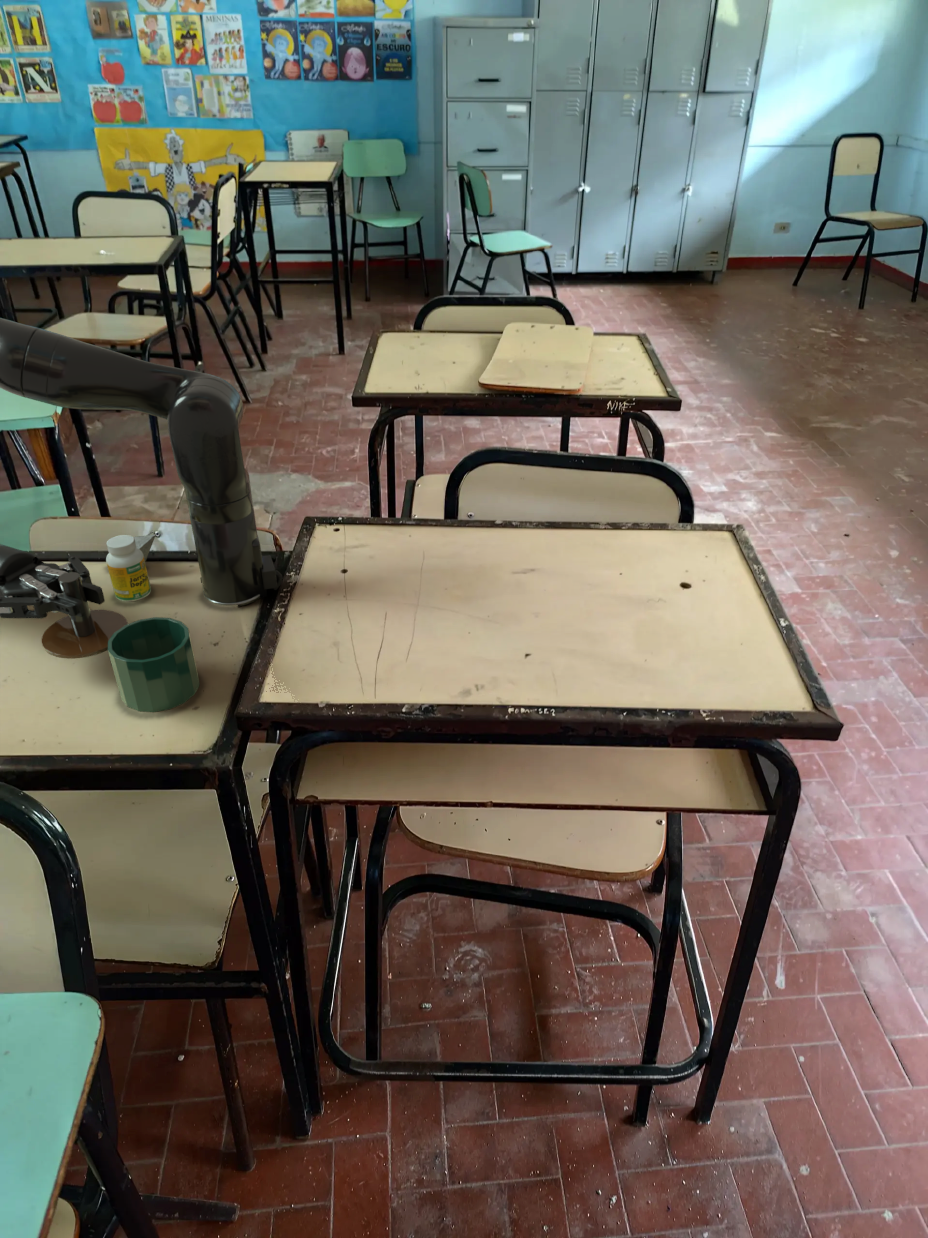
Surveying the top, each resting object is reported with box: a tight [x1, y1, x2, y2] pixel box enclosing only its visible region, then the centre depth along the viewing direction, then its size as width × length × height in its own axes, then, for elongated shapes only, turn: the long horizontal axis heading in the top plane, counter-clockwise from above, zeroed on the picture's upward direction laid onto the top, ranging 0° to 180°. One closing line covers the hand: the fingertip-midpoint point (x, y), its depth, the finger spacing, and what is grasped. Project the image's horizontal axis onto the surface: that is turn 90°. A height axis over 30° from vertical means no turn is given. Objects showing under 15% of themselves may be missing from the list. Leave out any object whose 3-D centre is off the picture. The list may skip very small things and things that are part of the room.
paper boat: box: [133, 530, 157, 563], centre depth 138 cm, size 12×6×9 cm
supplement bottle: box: [105, 534, 152, 602], centre depth 129 cm, size 5×5×10 cm
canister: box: [107, 616, 200, 713], centre depth 110 cm, size 10×10×8 cm
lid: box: [41, 572, 129, 660], centre depth 111 cm, size 11×11×10 cm
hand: (91, 602), depth 109 cm, fingers closed on lid, 2 cm apart
